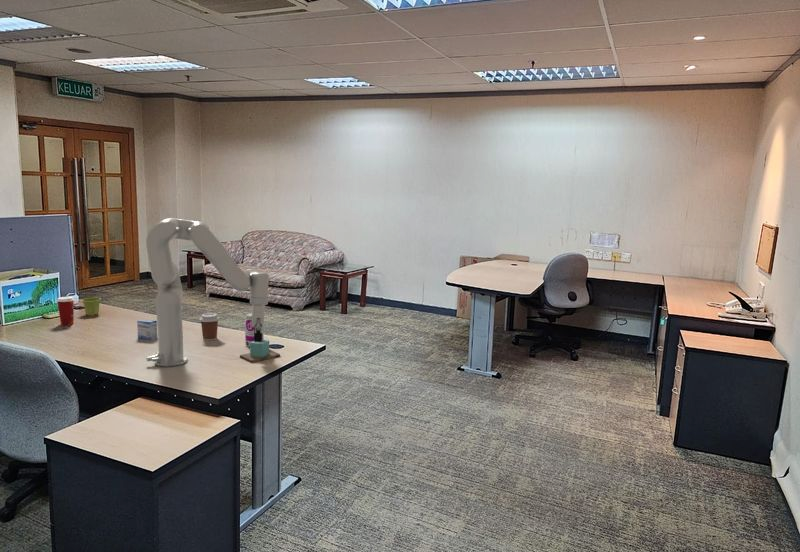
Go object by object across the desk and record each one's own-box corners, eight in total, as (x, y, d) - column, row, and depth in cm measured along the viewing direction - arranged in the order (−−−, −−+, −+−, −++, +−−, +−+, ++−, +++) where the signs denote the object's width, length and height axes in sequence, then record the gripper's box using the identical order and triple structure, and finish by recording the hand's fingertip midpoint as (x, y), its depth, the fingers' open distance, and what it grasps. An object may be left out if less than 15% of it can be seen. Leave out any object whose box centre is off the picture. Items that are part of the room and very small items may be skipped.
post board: (251, 362, 228) (251, 350, 227) (240, 357, 235) (239, 345, 234) (280, 356, 238) (280, 344, 237) (268, 351, 245) (268, 339, 244)
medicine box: (137, 338, 258) (136, 320, 257) (143, 335, 263) (143, 318, 261) (151, 339, 257) (150, 322, 255) (157, 337, 261) (157, 320, 260)
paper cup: (78, 323, 281) (77, 297, 279) (63, 326, 275) (61, 299, 272) (70, 321, 285) (69, 295, 283) (55, 324, 279) (53, 297, 276)
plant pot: (102, 315, 300) (101, 300, 298) (82, 317, 295) (81, 301, 294) (101, 311, 308) (100, 297, 306) (82, 313, 303) (81, 298, 302)
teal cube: (250, 356, 234) (250, 342, 233) (257, 352, 240) (257, 339, 239) (262, 357, 232) (262, 344, 231) (269, 353, 238) (269, 340, 237)
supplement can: (258, 348, 248) (258, 317, 246) (242, 347, 250) (241, 315, 247) (266, 343, 256) (266, 313, 254) (250, 342, 258) (250, 311, 255)
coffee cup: (203, 342, 255) (202, 317, 253) (197, 337, 262) (196, 314, 260) (222, 339, 260) (221, 315, 258) (216, 335, 268) (215, 311, 266)
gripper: (250, 296, 239) (249, 333, 242) (249, 304, 223) (248, 344, 225) (267, 296, 241) (266, 333, 244) (268, 304, 225) (267, 344, 227)
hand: (257, 338), depth 235 cm, fingers open, 9 cm apart
